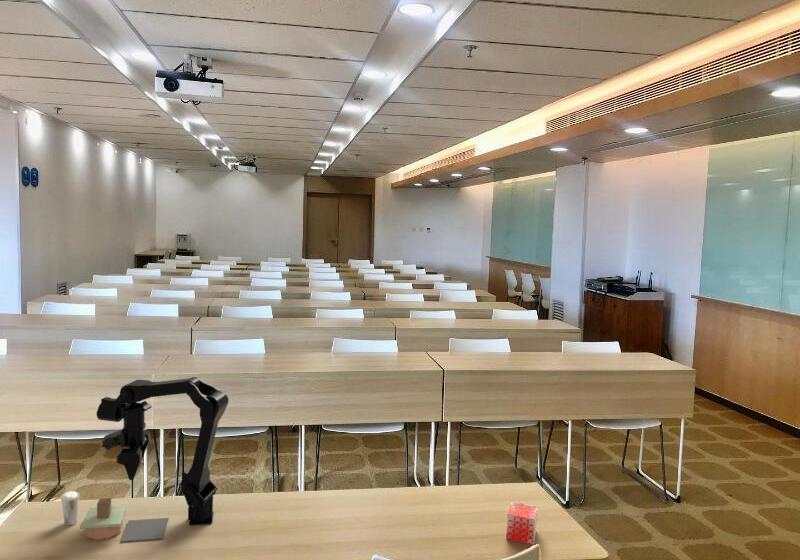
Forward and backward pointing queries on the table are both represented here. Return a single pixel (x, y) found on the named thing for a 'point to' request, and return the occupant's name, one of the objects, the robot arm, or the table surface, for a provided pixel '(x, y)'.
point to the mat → (145, 530)
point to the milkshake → (70, 507)
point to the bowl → (103, 532)
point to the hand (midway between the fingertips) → (134, 472)
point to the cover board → (106, 521)
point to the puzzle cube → (522, 523)
